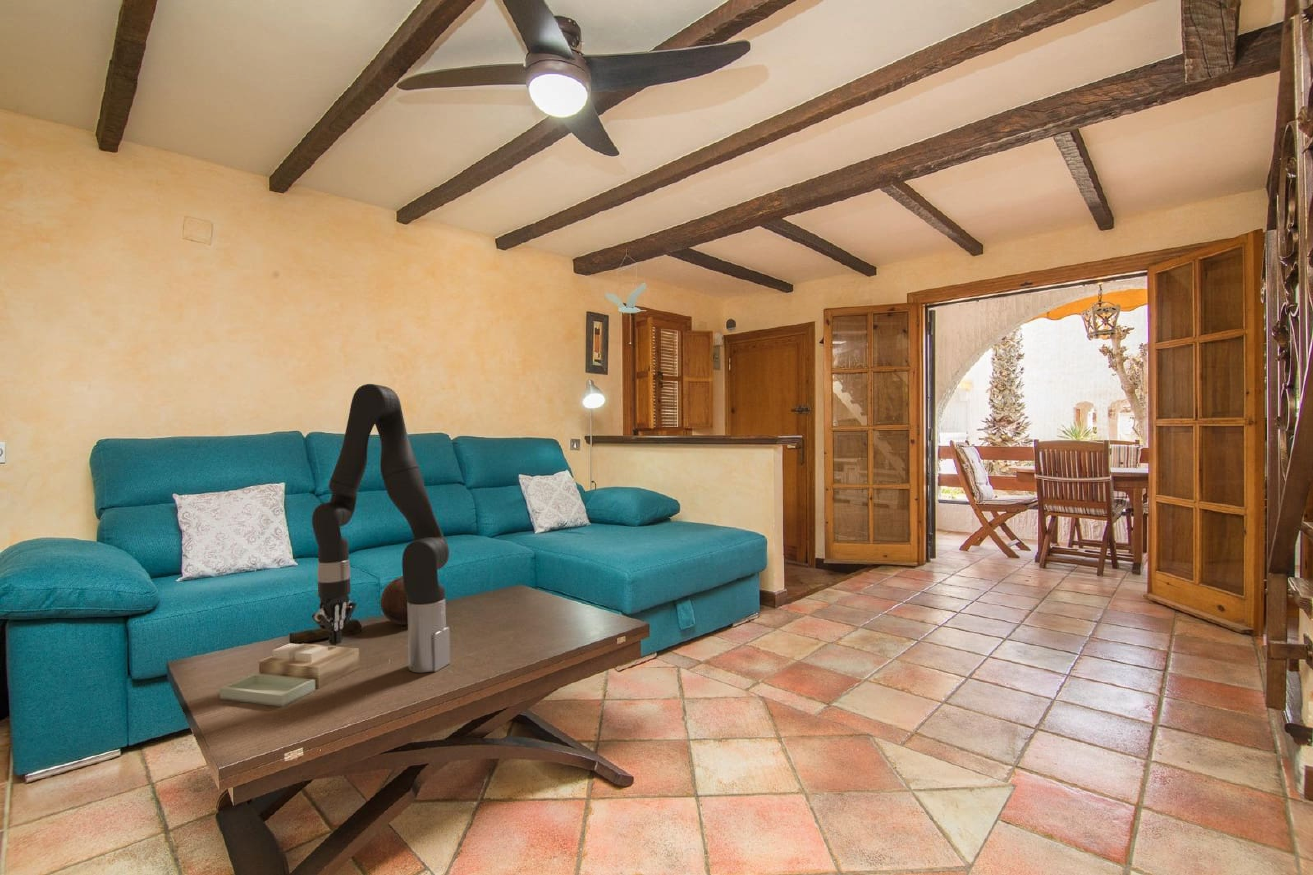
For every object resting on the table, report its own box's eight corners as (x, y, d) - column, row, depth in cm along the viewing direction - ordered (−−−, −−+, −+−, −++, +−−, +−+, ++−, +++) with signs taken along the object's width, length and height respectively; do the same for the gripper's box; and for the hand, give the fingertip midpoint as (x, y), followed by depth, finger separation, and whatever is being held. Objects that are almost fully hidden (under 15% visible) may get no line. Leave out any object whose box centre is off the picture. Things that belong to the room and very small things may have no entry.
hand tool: (289, 648, 173) (289, 632, 173) (289, 644, 176) (288, 629, 176) (362, 635, 183) (362, 620, 183) (360, 632, 187) (360, 617, 187)
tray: (315, 690, 143) (315, 679, 143) (282, 706, 134) (282, 695, 134) (255, 683, 148) (255, 672, 148) (220, 698, 139) (220, 688, 139)
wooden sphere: (440, 622, 194) (439, 575, 194) (394, 634, 183) (393, 584, 183) (417, 613, 204) (416, 569, 204) (372, 624, 193) (371, 577, 193)
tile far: (305, 652, 154) (305, 644, 154) (288, 659, 150) (288, 651, 150) (289, 651, 156) (289, 643, 156) (272, 658, 151) (272, 650, 151)
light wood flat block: (359, 667, 157) (358, 648, 157) (318, 688, 144) (318, 667, 144) (303, 662, 162) (302, 643, 161) (259, 681, 149) (258, 661, 149)
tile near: (327, 654, 153) (327, 646, 153) (311, 662, 148) (311, 653, 148) (311, 653, 154) (311, 645, 154) (295, 660, 149) (294, 652, 149)
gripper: (325, 584, 151) (327, 654, 151) (364, 572, 163) (366, 636, 164) (301, 583, 153) (302, 651, 153) (341, 571, 165) (343, 634, 166)
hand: (335, 643), depth 158 cm, fingers closed
